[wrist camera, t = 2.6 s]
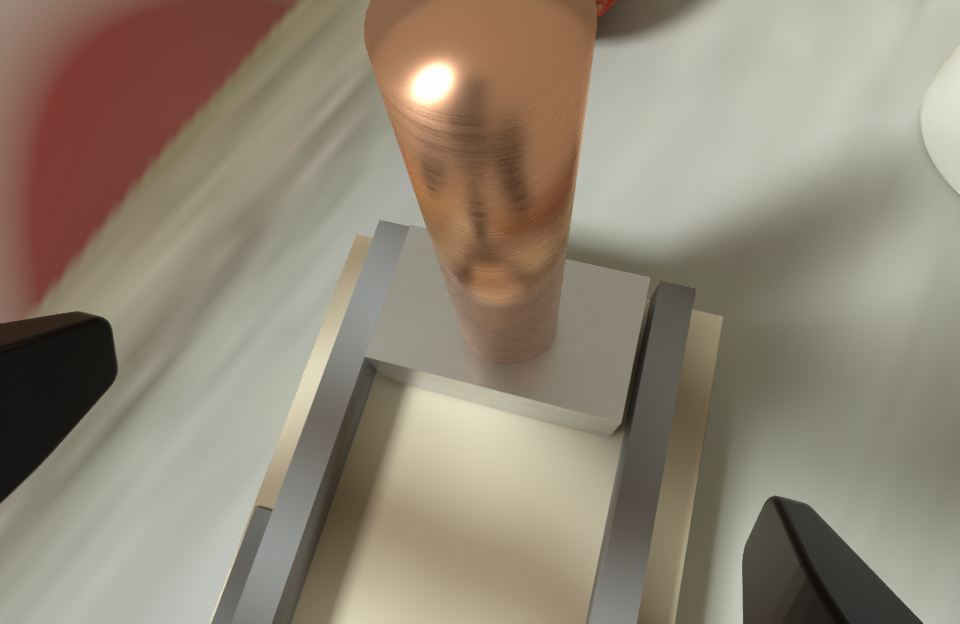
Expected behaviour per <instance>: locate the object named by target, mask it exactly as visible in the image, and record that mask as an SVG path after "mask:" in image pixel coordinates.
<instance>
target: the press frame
mask: <svg viewBox="0 0 960 624" xmlns="http://www.w3.org/2000/svg"><path fill="white" fill-rule="evenodd" d="M409 227H410V226H405V225H400V224H396V223H391V222H387V221H382V220H379V223H378V226H377V229H376V231H375V234H374V237H373V238H371V237H367V236H362V235H358V234H356V237H355V240H354V242H353V245H352V248H351V250H350V253H349V255H348V258H347V261H346V263H345V266H344V269H343V271H342V274H341V277H340V279H339V282H338V285H337V287H336V290H335V292H334V295H333V298H332V300H331V303H330V306H329V308H328V311H327V314H326V316H325V319H324V321H323V324H322V327H321V329H320V332H319V335H318V337H317V340H316V343H315V345H314V348H313V350H312V353H311V356H310V358H309V361H308V364H307V366H306V369H305V372H304V374H303V377H302V380H301V382H300V385H299V387H298V390H297V393H296V395H295V398H294V401H293V403H292V406H291V409H290V411H289V414H288V416H287V419H286V422H285V424H284V427H283V430H282V432H281V435H280V438H279V440H278V443H277V446H276V448H275V451H274V453H273V456H272V459H271V461H270V464H269V467H268V469H267V472H266V475H265V477H264V480H263V482H262V485H261V488H260V490H259V493H258V496H257V498H256V501H255V504H254V506H253V509H252V512H251V514H250V517H249V519H248V522H247V525H246V527H245V530H244V533H243V535H242V538H241V541H240V543H239V546H238V548H237V551H236V554H235V556H234V559H233V562H232V564H231V567H230V570H229V572H228V575H227V578H226V580H225V583H224V585H223V588H222V591H221V593H220V596H219V599H218V601H217V604H216V607H215V609H214V612H213V614H212V617H211V620H210V622H209V624H675V618H676V612H677V605H678V599H679V593H680V586H681V580H682V574H683V567H684V561H685V555H686V549H687V542H688V536H689V530H690V523H691V517H692V511H693V504H694V498H695V492H696V485H697V479H698V473H699V466H700V460H701V454H702V447H703V441H704V435H705V428H706V422H707V416H708V410H709V403H710V397H711V391H712V384H713V378H714V372H715V365H716V359H717V353H718V346H719V340H720V334H721V327H722V321H723V316H720V315H716V314H711V313H707V312H702V311H698V310H693V309H692V307H693V302H694V296H695V290H696V289H694V288H689V287H685V286H680V285H675V284H671V283H666V282H662V281H660V283H659V284H658V286H657V288H656V290H655V292H654V294H653V296H652V298H651V300H648V299H646V304H645V308H644V313H643V318H642V323H641V328H640V333H639V338H638V343H637V348H636V353H635V358H634V363H633V368H632V373H631V377H630V382H629V387H628V392H627V397H626V402H625V407H624V412H623V417H622V422H621V424H620V425H619V426H618V427H617V428H616V430H615V431H614V432H613V433H612V434H611V436H610V437H609V438H606V437H602V436H599V435H595V434H591V433H587V432H583V431H580V430H576V429H572V428H568V427H564V426H560V425H557V424H553V423H549V422H545V421H541V420H538V419H534V418H530V417H526V416H522V415H519V414H515V413H511V412H507V411H503V410H500V409H496V408H492V407H488V406H484V405H481V404H477V403H473V402H469V401H465V400H461V399H458V398H454V397H450V396H446V395H442V394H439V393H435V392H431V391H427V390H423V389H420V388H416V387H412V386H408V385H404V384H401V383H397V382H393V381H389V380H386V379H385V378H384V377H383V376H382V375H381V374H380V373H379V372H378V371H377V369H376V368H375V367H374V366H373V365H372V364H371V363H370V362H369V361H368V360H367V359H366V358H365V357H364V356H365V353H366V350H367V348H368V345H369V342H370V339H371V336H372V333H373V330H374V327H375V325H376V322H377V319H378V316H379V313H380V310H381V307H382V305H383V302H384V299H385V296H386V293H387V290H388V287H389V285H390V282H391V279H392V276H393V273H394V270H395V267H396V265H397V262H398V259H399V256H400V253H401V250H402V247H403V245H404V242H405V239H406V236H407V233H408V230H409Z"/></svg>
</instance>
